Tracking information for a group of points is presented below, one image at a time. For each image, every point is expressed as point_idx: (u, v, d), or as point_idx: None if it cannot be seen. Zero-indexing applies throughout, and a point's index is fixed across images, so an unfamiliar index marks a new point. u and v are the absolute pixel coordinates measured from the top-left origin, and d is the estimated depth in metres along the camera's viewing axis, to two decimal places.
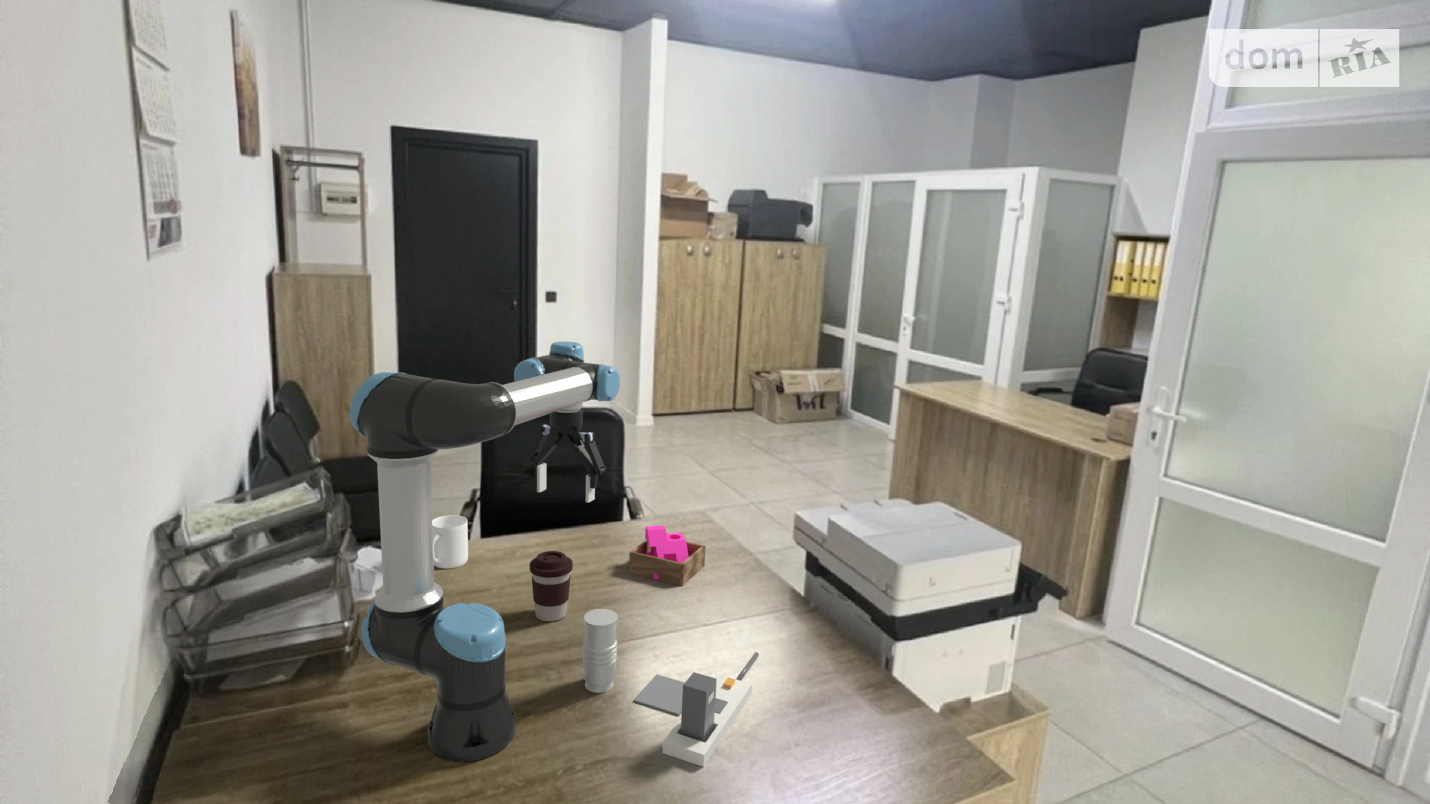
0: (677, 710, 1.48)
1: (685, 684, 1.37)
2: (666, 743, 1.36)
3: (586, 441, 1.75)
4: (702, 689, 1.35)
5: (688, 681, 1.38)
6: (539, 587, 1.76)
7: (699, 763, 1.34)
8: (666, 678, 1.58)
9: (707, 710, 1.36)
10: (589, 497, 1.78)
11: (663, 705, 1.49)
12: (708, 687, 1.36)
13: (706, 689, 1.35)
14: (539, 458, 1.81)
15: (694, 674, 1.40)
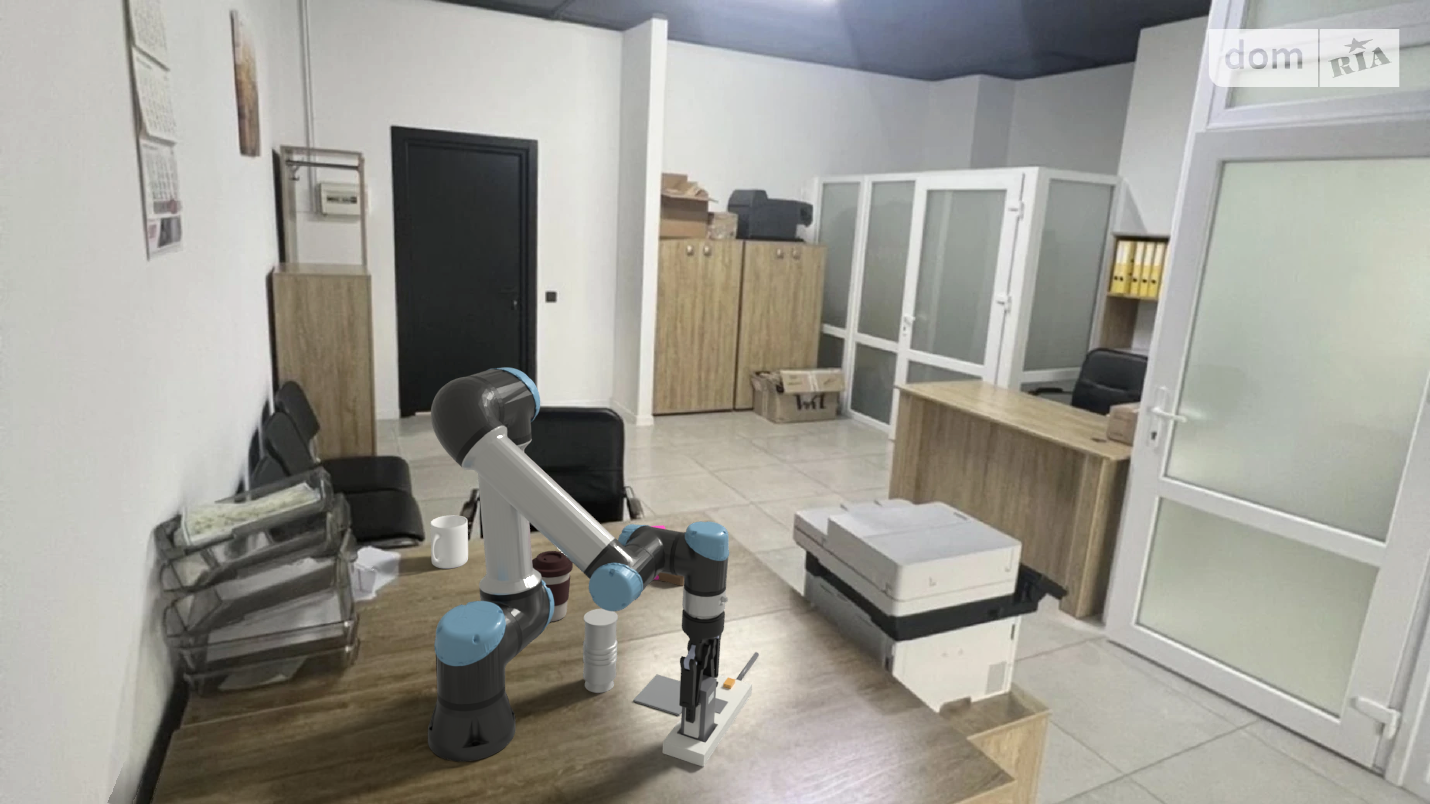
0: (677, 710, 1.48)
1: None
2: (666, 743, 1.36)
3: None
4: (702, 689, 1.35)
5: None
6: None
7: (699, 763, 1.34)
8: (666, 678, 1.58)
9: (707, 710, 1.36)
10: (686, 728, 1.37)
11: (663, 705, 1.49)
12: (708, 687, 1.36)
13: (706, 689, 1.35)
14: None
15: None
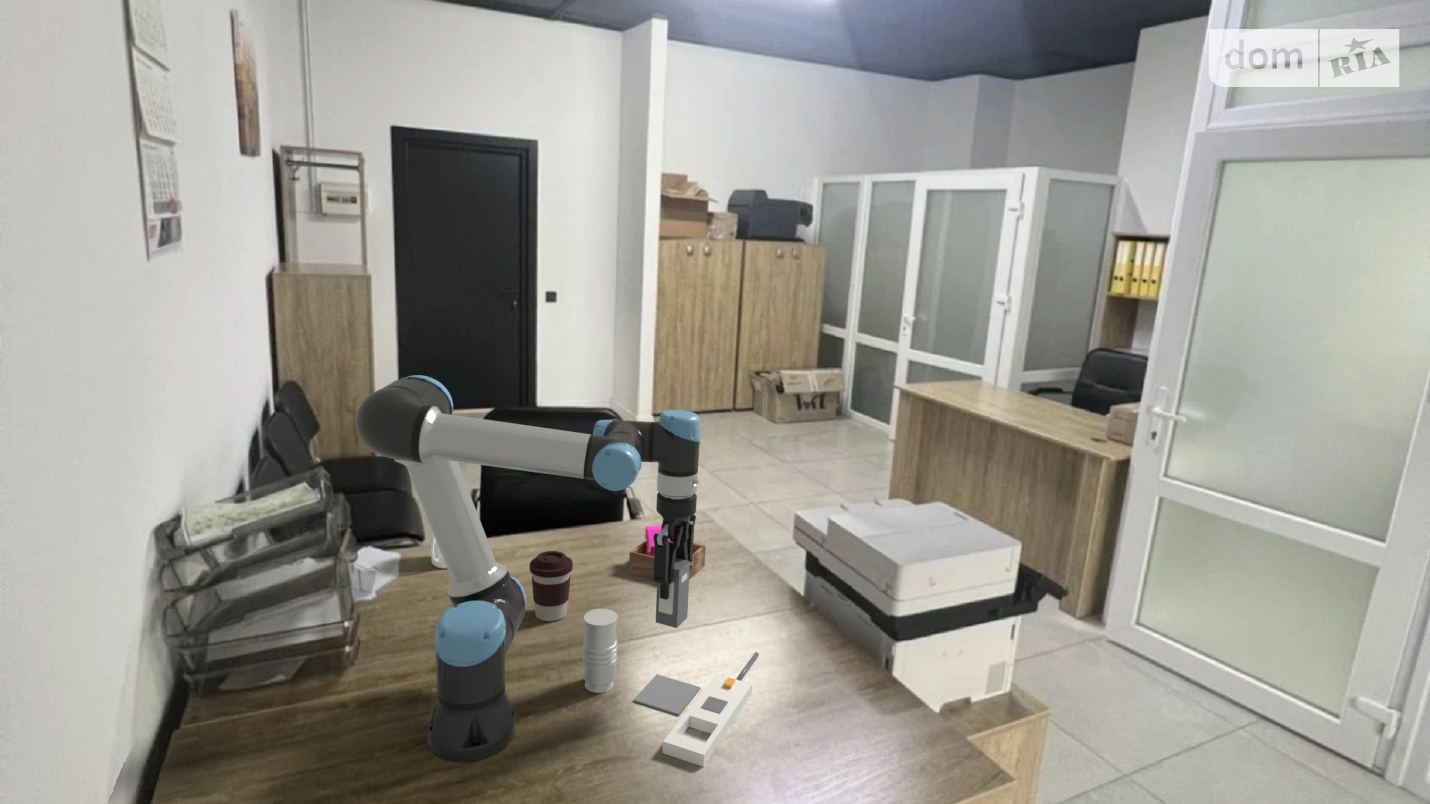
0: (677, 710, 1.48)
1: None
2: (666, 743, 1.36)
3: None
4: (675, 568, 1.44)
5: None
6: (539, 587, 1.76)
7: (699, 763, 1.34)
8: (666, 678, 1.58)
9: (680, 588, 1.45)
10: (660, 606, 1.46)
11: (663, 705, 1.49)
12: (681, 567, 1.45)
13: (679, 568, 1.45)
14: None
15: None
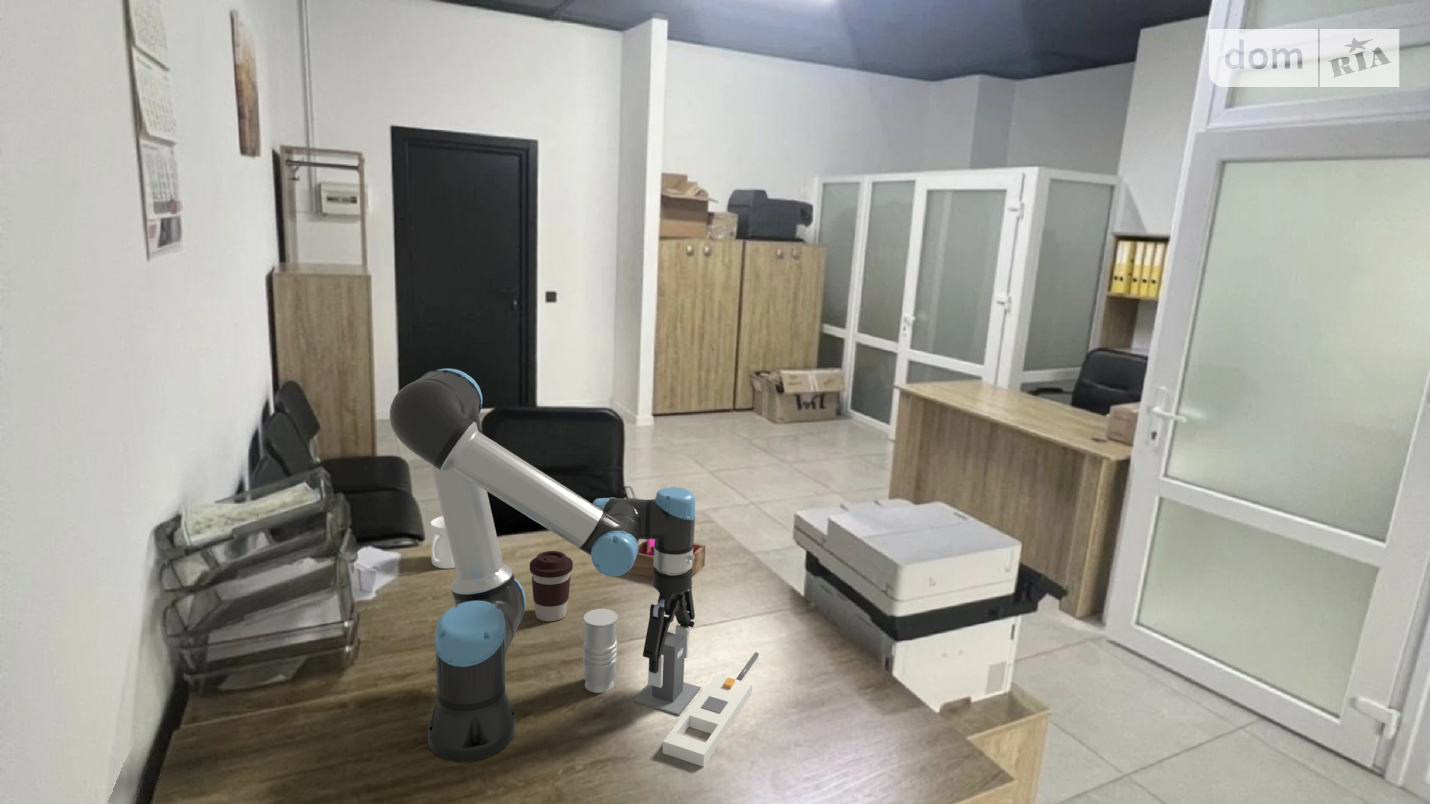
0: (677, 710, 1.48)
1: None
2: (666, 743, 1.36)
3: None
4: (671, 645, 1.48)
5: None
6: (539, 587, 1.76)
7: (699, 763, 1.34)
8: None
9: (676, 664, 1.49)
10: (650, 679, 1.47)
11: (663, 705, 1.49)
12: (677, 643, 1.49)
13: (675, 645, 1.48)
14: None
15: None
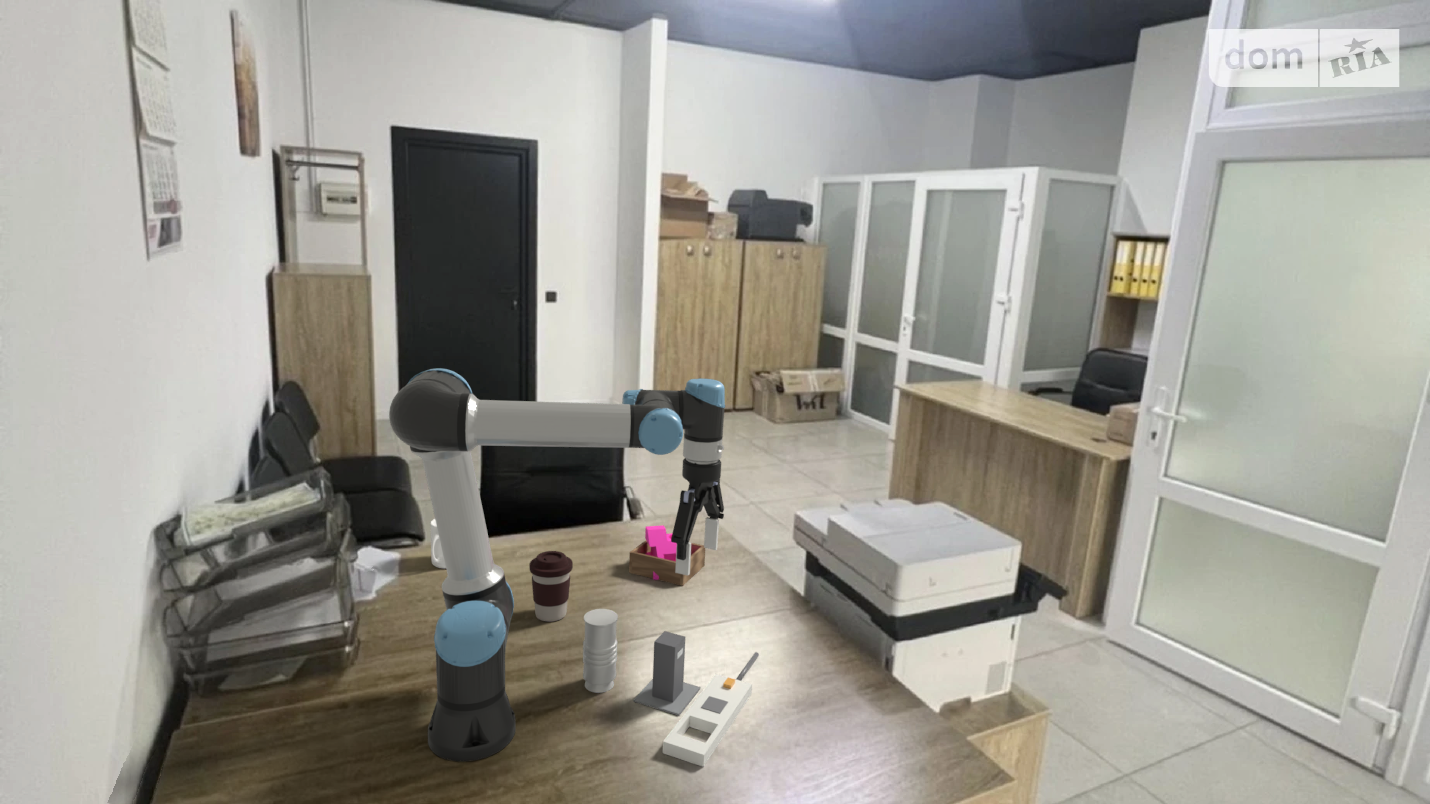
0: (677, 710, 1.48)
1: (656, 641, 1.50)
2: (666, 743, 1.36)
3: None
4: (671, 645, 1.48)
5: (659, 638, 1.50)
6: (539, 587, 1.76)
7: (699, 763, 1.34)
8: None
9: (676, 664, 1.49)
10: (677, 567, 1.47)
11: (663, 705, 1.49)
12: (677, 643, 1.49)
13: (675, 645, 1.48)
14: None
15: (665, 632, 1.53)
